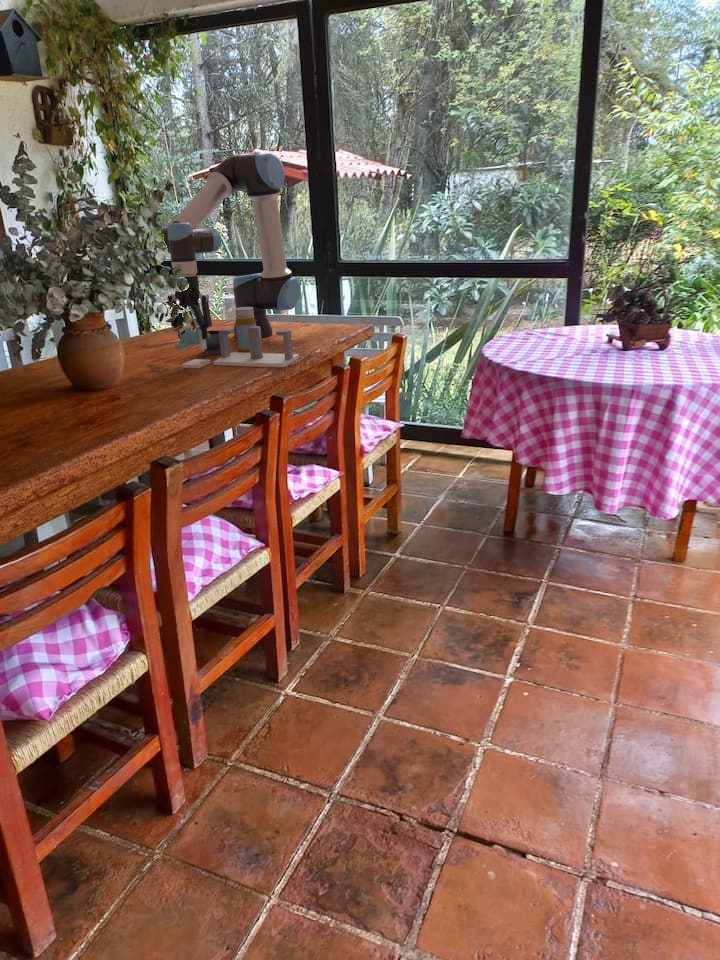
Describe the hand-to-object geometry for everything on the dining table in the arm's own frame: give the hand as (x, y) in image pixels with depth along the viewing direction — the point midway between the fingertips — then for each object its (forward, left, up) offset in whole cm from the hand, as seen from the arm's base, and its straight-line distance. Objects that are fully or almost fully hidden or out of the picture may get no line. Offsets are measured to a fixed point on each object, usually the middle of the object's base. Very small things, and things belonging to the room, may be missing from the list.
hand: (194, 349), depth 226 cm
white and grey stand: (-8, +18, -5) cm, 20 cm away
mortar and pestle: (-20, -5, -6) cm, 21 cm away
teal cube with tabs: (0, 0, +2) cm, 2 cm away
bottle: (-23, +8, -6) cm, 25 cm away
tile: (0, 0, -5) cm, 5 cm away
